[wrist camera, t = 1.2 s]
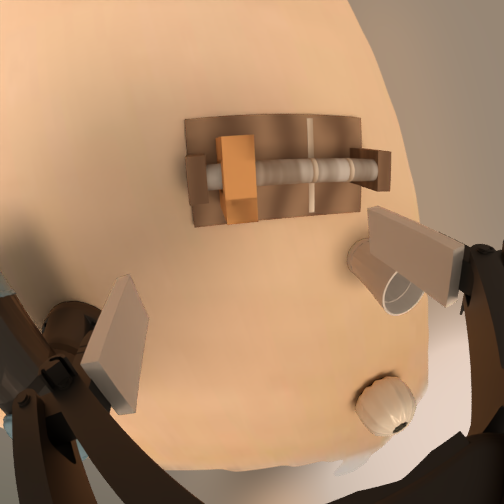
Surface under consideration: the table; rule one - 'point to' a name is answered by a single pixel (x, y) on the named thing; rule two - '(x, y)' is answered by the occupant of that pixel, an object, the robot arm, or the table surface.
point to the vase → (386, 406)
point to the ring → (237, 178)
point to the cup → (383, 280)
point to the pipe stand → (286, 165)
